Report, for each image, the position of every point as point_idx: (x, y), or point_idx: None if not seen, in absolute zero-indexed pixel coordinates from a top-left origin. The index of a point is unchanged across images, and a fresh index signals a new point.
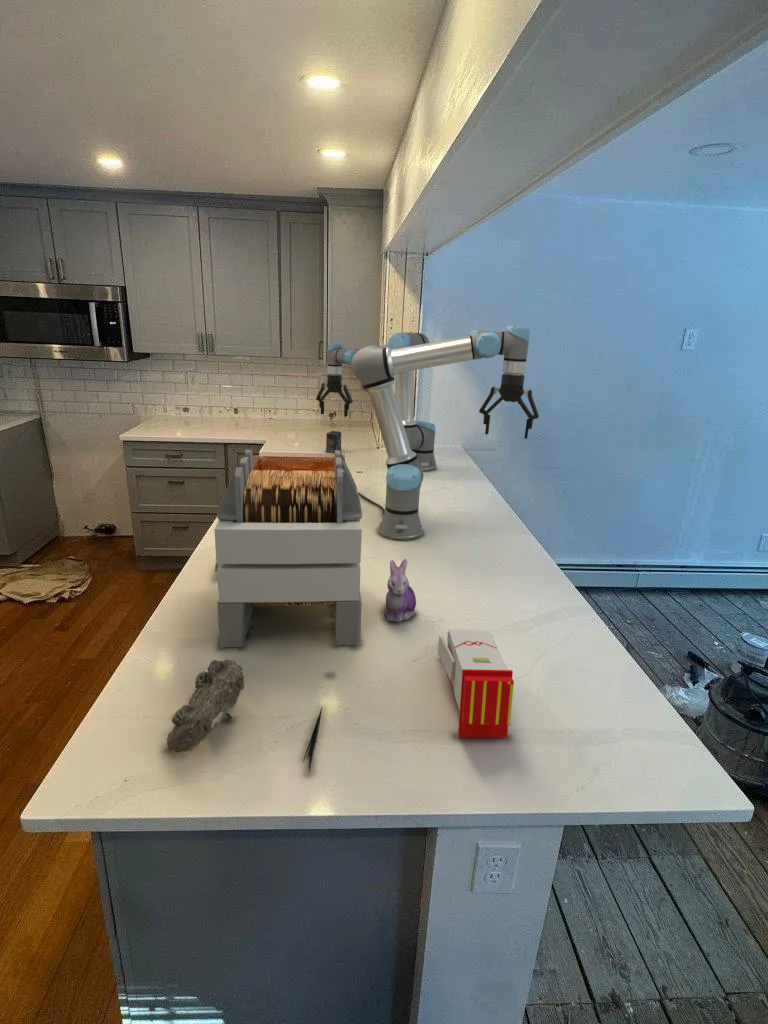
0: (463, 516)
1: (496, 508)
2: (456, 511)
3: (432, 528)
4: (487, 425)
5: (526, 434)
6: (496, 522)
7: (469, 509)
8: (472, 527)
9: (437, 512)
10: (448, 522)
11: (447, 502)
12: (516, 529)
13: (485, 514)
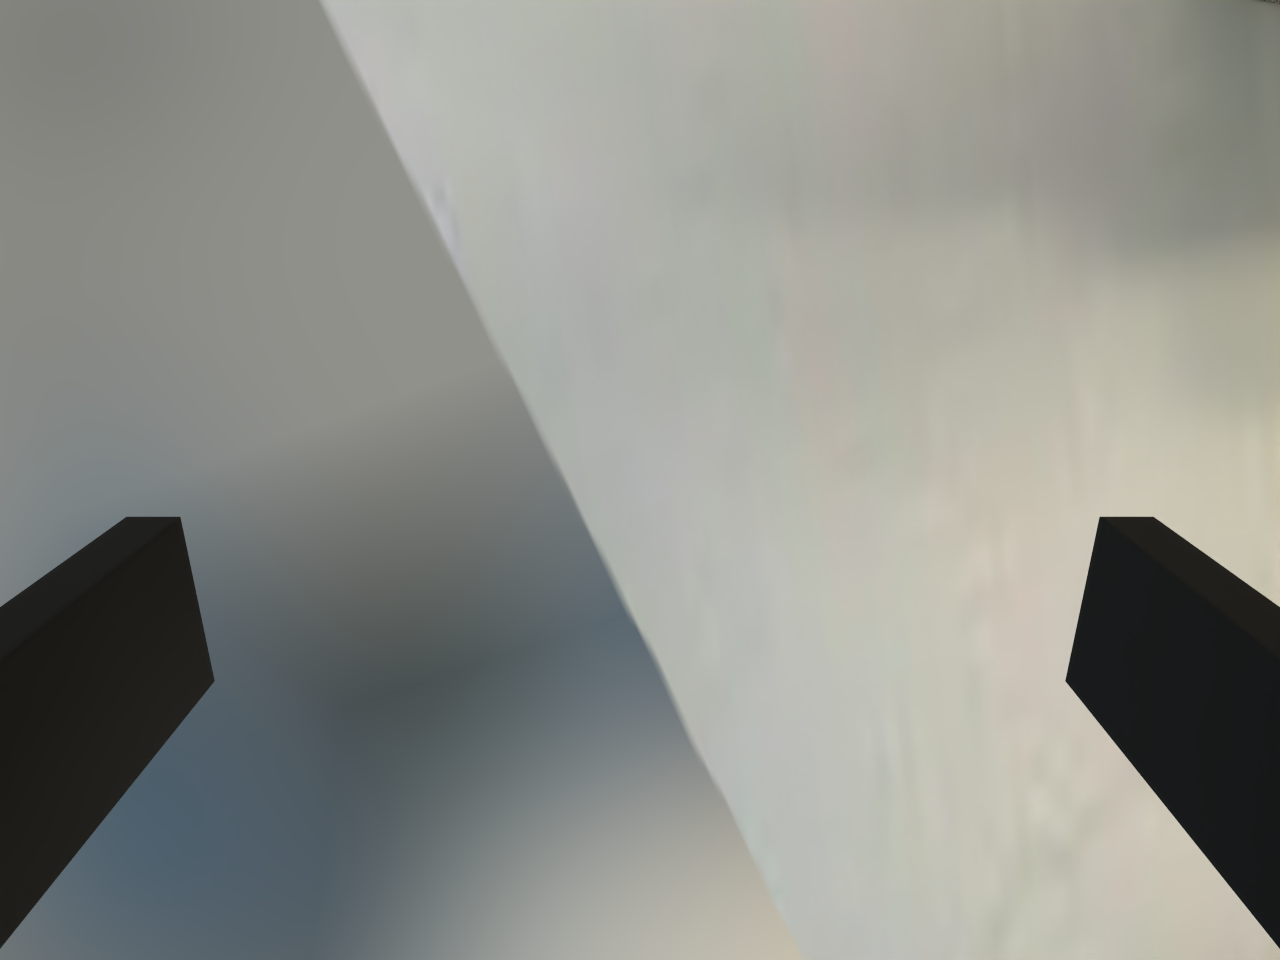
0: (884, 396)
1: (687, 640)
2: (942, 473)
3: (1086, 33)
4: (1272, 636)
5: (75, 562)
6: (647, 378)
7: (858, 548)
8: (795, 199)
9: (1074, 395)
10: (977, 223)
11: (1019, 617)
12: (495, 301)
13: (741, 500)
